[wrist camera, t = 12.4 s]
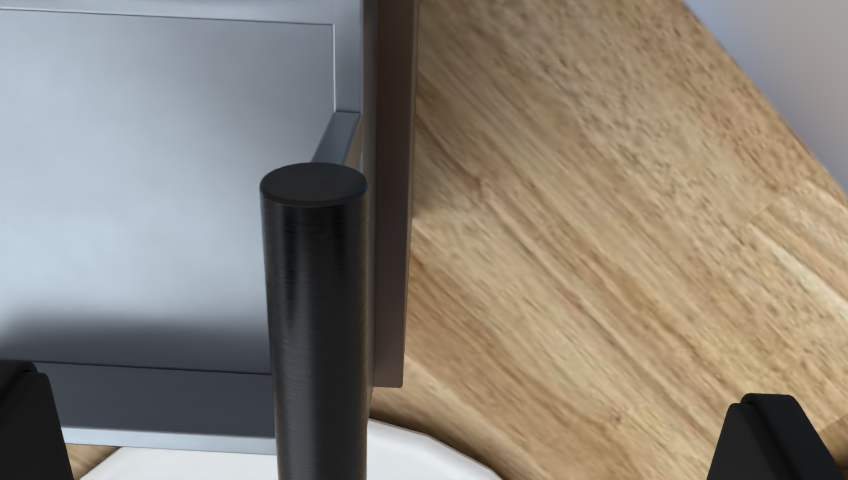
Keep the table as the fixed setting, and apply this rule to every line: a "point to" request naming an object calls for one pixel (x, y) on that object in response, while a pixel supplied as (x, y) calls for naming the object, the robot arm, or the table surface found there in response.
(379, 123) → the stand
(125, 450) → the plate
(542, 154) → the table surface
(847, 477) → the fruit
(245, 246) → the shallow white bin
